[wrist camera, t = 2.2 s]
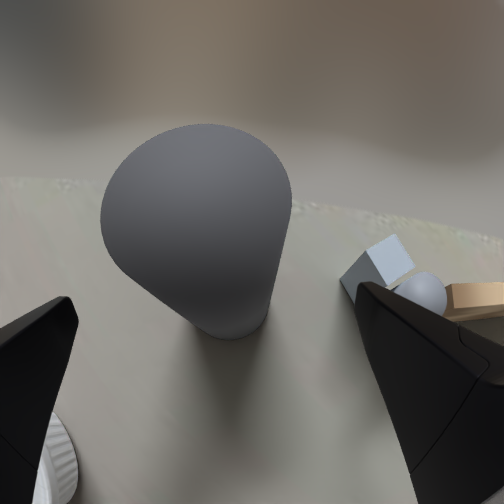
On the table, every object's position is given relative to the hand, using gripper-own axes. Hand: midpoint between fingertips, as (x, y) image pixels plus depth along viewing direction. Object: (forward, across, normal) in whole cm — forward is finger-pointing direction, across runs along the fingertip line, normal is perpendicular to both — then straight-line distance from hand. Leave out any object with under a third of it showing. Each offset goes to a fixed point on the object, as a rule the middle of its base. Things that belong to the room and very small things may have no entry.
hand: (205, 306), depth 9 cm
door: (+6, -18, +7) cm, 20 cm away
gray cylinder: (+8, 0, +5) cm, 10 cm away
